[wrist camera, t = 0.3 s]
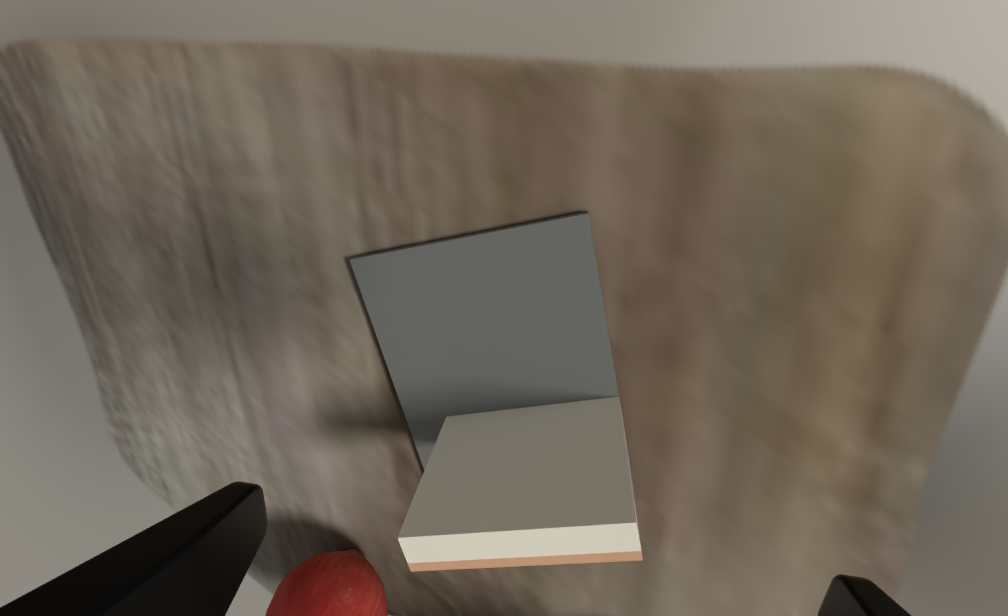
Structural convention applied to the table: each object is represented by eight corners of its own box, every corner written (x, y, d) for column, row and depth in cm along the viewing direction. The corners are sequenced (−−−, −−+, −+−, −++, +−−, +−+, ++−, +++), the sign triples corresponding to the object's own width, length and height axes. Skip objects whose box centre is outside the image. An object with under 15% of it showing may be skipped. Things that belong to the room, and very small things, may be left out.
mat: (635, 492, 24) (635, 498, 24) (441, 507, 26) (439, 513, 26) (588, 211, 19) (588, 213, 19) (353, 257, 21) (349, 259, 21)
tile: (623, 426, 22) (642, 560, 16) (455, 444, 24) (411, 571, 18) (618, 396, 22) (636, 522, 15) (446, 416, 23) (397, 537, 17)
